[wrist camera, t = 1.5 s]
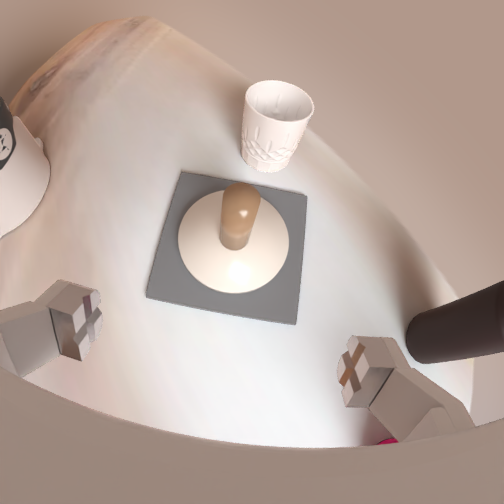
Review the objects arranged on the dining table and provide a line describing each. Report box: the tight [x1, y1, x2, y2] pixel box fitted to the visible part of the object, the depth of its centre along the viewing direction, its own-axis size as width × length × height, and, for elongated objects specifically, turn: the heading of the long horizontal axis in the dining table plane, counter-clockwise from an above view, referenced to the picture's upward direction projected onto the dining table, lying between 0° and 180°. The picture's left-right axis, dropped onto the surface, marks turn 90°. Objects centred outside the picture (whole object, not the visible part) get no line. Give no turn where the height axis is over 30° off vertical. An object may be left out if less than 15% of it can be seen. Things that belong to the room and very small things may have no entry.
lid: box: [178, 182, 289, 294], centre depth 29 cm, size 12×12×9 cm
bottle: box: [407, 281, 504, 364], centre depth 23 cm, size 7×7×20 cm
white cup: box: [241, 80, 314, 173], centre depth 34 cm, size 8×8×10 cm
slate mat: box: [146, 172, 307, 325], centre depth 33 cm, size 16×16×1 cm
